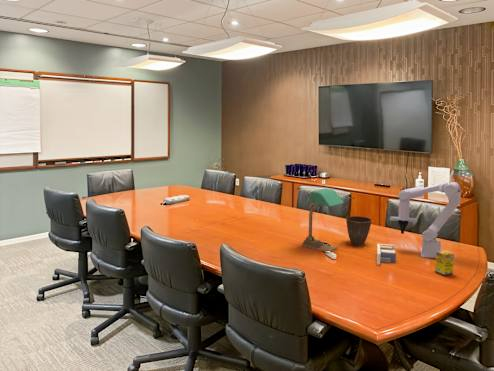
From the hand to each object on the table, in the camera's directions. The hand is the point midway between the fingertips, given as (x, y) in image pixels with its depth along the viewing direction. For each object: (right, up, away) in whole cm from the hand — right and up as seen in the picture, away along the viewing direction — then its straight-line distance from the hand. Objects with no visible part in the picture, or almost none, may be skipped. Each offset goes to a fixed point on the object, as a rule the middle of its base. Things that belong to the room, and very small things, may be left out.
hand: (402, 233), depth 248 cm
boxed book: (-14, -13, -16) cm, 25 cm away
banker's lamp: (-46, -10, +6) cm, 48 cm away
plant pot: (-22, -9, +14) cm, 28 cm away
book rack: (-14, -13, -15) cm, 24 cm away
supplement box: (+8, -16, -34) cm, 39 cm away
